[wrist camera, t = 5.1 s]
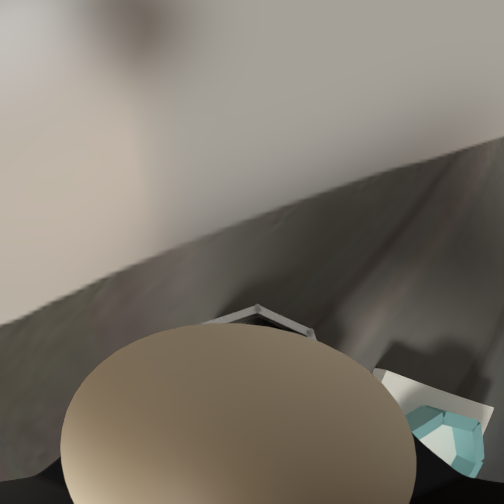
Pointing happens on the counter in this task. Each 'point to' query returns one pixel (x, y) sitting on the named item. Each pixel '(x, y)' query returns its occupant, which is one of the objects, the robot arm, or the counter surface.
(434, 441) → the plate
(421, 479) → the robot arm
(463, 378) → the counter surface
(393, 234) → the counter surface
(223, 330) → the maple peg
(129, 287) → the counter surface
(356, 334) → the counter surface
